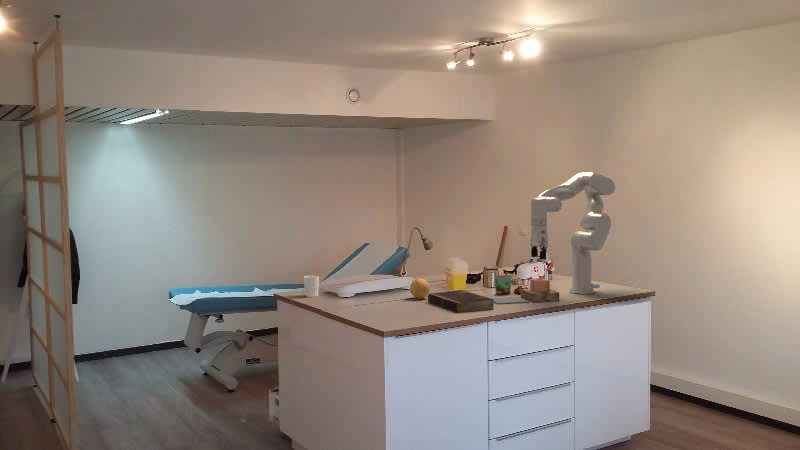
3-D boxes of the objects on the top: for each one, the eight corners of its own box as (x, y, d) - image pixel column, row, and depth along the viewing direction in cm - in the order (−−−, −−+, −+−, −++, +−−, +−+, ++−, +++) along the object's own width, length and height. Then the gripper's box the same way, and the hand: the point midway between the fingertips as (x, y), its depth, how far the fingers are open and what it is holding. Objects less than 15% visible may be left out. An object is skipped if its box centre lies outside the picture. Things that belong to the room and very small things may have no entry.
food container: (505, 295, 365) (505, 276, 364) (494, 294, 368) (494, 275, 367) (516, 292, 374) (516, 273, 374) (506, 291, 378) (506, 272, 377)
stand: (546, 295, 364) (546, 279, 363) (559, 300, 350) (559, 283, 350) (520, 297, 360) (520, 280, 360) (532, 302, 347) (532, 285, 346)
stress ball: (428, 298, 363) (415, 284, 367) (436, 285, 357) (423, 271, 361) (415, 304, 356) (402, 290, 360) (423, 291, 350) (410, 277, 354)
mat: (518, 297, 358) (518, 296, 358) (529, 302, 346) (529, 301, 346) (487, 299, 355) (487, 298, 355) (497, 304, 342) (497, 303, 342)
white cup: (320, 294, 372) (320, 275, 371) (317, 297, 364) (317, 277, 363) (305, 294, 372) (305, 275, 372) (302, 297, 365) (301, 277, 364)
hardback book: (427, 303, 349) (427, 292, 349) (461, 299, 357) (461, 289, 357) (457, 313, 323) (457, 302, 323) (493, 310, 331) (493, 299, 331)
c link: (543, 289, 359) (543, 278, 359) (549, 291, 352) (549, 280, 352) (530, 290, 358) (530, 279, 357) (536, 292, 351) (536, 281, 350)
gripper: (553, 224, 345) (553, 259, 346) (538, 221, 362) (538, 255, 363) (539, 224, 343) (539, 260, 345) (524, 222, 360) (524, 256, 361)
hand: (538, 258), depth 354 cm, fingers open, 9 cm apart
